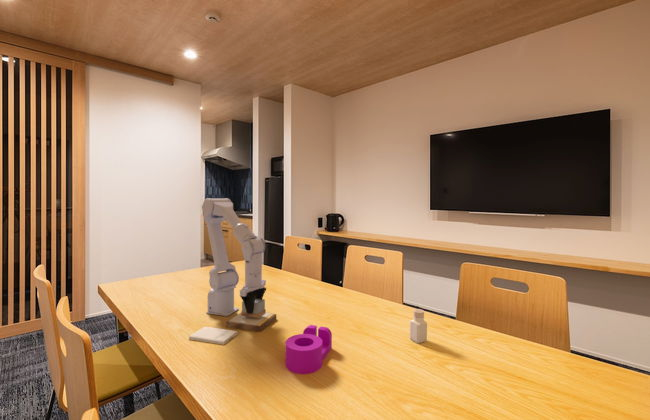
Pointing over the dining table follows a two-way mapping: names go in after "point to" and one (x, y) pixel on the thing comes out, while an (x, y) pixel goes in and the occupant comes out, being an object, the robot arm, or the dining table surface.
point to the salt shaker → (418, 327)
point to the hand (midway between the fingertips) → (253, 310)
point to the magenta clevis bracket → (308, 350)
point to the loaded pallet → (255, 309)
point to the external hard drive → (213, 335)
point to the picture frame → (251, 322)
